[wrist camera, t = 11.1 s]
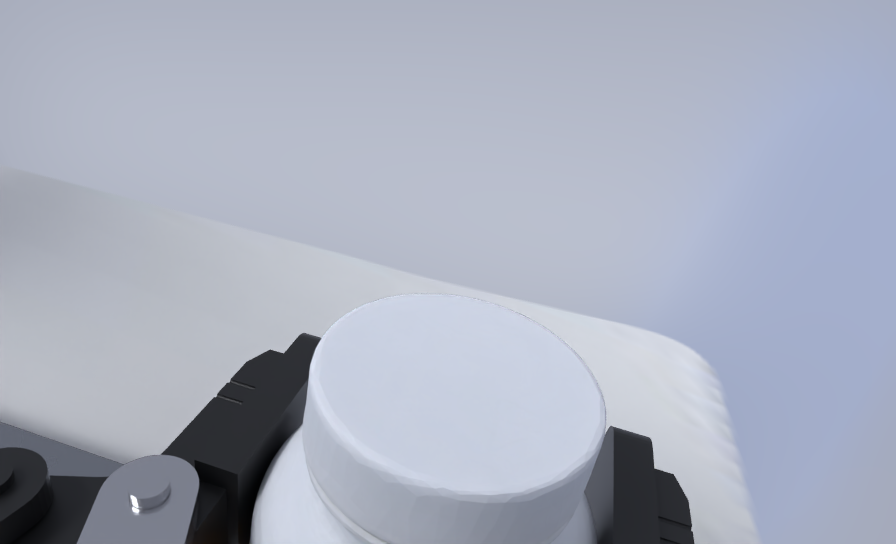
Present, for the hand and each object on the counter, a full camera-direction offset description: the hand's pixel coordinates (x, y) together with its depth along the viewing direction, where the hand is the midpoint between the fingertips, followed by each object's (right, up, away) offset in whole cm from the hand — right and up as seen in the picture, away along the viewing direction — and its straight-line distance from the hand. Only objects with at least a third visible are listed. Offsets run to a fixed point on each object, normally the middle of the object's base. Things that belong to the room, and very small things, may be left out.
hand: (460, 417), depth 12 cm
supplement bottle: (-2, -7, +1) cm, 7 cm away
